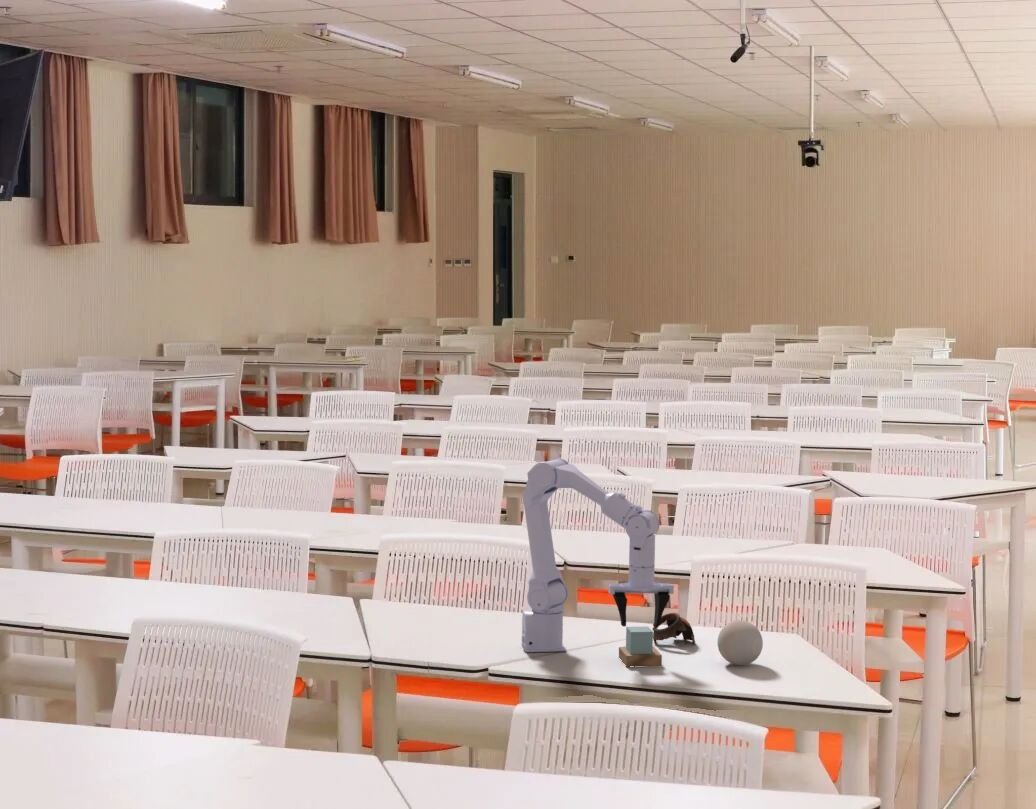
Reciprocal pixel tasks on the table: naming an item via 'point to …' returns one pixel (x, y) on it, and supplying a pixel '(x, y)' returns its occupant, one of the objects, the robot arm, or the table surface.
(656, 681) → the table surface
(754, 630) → the grey sphere
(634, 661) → the slab
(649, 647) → the cube
